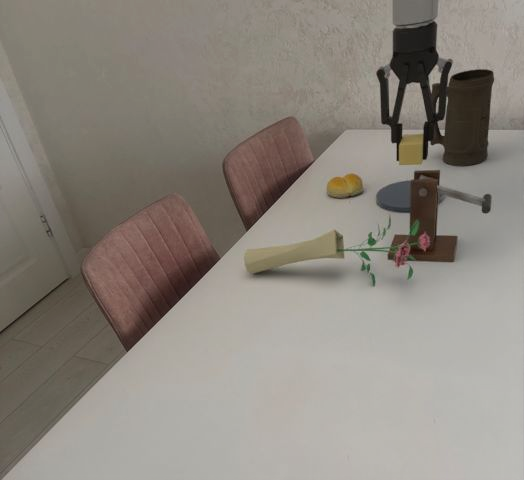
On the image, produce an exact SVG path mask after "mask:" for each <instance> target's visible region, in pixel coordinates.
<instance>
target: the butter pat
mask: <svg viewBox="0 0 524 480" xmlns="http://www.w3.org/2000/svg"><path fill="white" fill-rule="evenodd" d="M423 161H424V160H423V133H413V134H402V140H401V142H400V144H399V161H398V166H413V165H414V166H416V165H422V164H423Z"/></svg>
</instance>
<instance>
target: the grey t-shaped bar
mask: <svg viewBox="0 0 524 480" xmlns="http://www.w3.org/2000/svg"><path fill="white" fill-rule="evenodd" d="M419 179H433V178H430V177H427V176H423V175H421V176H420V178H419ZM439 185H440V184H439ZM439 185H437V193H438V194H442V195H444V197H448V198H451V199H456V200H459V201H462V202H465V203H469V204H473V205H477V206H479V207H481V213H483V214H486V215H487V214H489V213H491V211H492V199H493V196H492V194H490V193H485V194H484V195H483V196H482V197H481V196H480V197H479V196H476V195H474V194H469V193H466V192H463V191H459V190H456V189H452V188H449V187H445V186H442V185H440V186H439Z"/></svg>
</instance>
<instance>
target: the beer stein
mask: <svg viewBox="0 0 524 480" xmlns="http://www.w3.org/2000/svg"><path fill="white" fill-rule="evenodd" d="M494 74H495V73H494V71H493V70H491V69H484V68H482V69H481V68H478V69H469V70H464V71H460V72H457V73H454V74H452V75H451V76H450V78H449V80H448V86H447V102H446V113H445V124H444V135H442V133H441V131H440V127H439V123H438V122H439V121H438V122H436V123H435V134H434V139H433V141H429V143H430V145H431V146H435V145H441V146H442V147H443V148H444V151H443V155H442V161H443V162H444V163H445V164H447V165H451V166H457V167H464V166H465V167H466V166H472V165H477V164H481V163H482V162H484V161H486V160H487V159H488V156H489V155H488V147H489V144H490V143H489V130H490V117H491V105H492V104H491V101H492V92H493V84H494V83H495V77H494ZM439 90H440V82H436V83H435V82H434V83H432V84H431V95H432V101H433V106H434V112H435V114H436V113H437V103H438V100H439Z"/></svg>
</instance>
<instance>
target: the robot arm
mask: <svg viewBox="0 0 524 480" xmlns="http://www.w3.org/2000/svg"><path fill="white" fill-rule="evenodd" d="M391 1H392V2H391V3H392V6H391V7H392V8H391V9H392V10H391V11H392V17H391V18H392V25H393V26H394V28H393V30H392V56H391V59H390V62H389V63H387V64H386V65H384V66H379V68H378V69H377V70H376V73H375V75H376V77H377V79H378V80H377V81H378V82H379V95H380V122H381V124H382V125H386V126H389V127H390V142H391V144H396V162H399V144H400V142H401V140H402V137H403V123H402V122H401V123H399V121H400V117H401V111H402V107H403V103H404V97H405V93H406V89H407V86H408V85H410V84H412V83H415V84H419V86H420V90H421V96H422V100H423V106H424V111H425V116H426V121H425V122H424V124H423V127H422V128H423V130H422V134H423V161H427V159H428V157H429V142H430V141H433V139H434V134H435V123H436V122H439V121H443V120H444V119H445V118H446V109H447V100H448V97H447V87H448V84H449V74H450V71H451V69H452V66H453V63H454V61H453V59H452V58H448V59H445V58H442V57H440V55H439V52H438V50H437V41H438V39H437V37H438V35H437V34H438V23H437V22H436V21H435V20H436V19H437V18H438V17H439V0H391ZM436 66H437V67H438V69H437V71H438V73H439V74H440V77H439V78H440V79H439V83H440V90H439V97H438V107H437V112H436V114H435V112H434V106H433V101H432V95H431V93H432V89H431V85H430V78H429V76H430V74H431V73H432V71H433V70H434V69H435V67H436ZM391 71H392V72H393V73H394V75H395V76H396V78H397V79H398V80H399V82H398V86H397V92H396V97H395V101H394V107H393V110H392V115H390V87H389V86H390V85H389V84H390V83H389V78H390V76H391Z"/></svg>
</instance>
